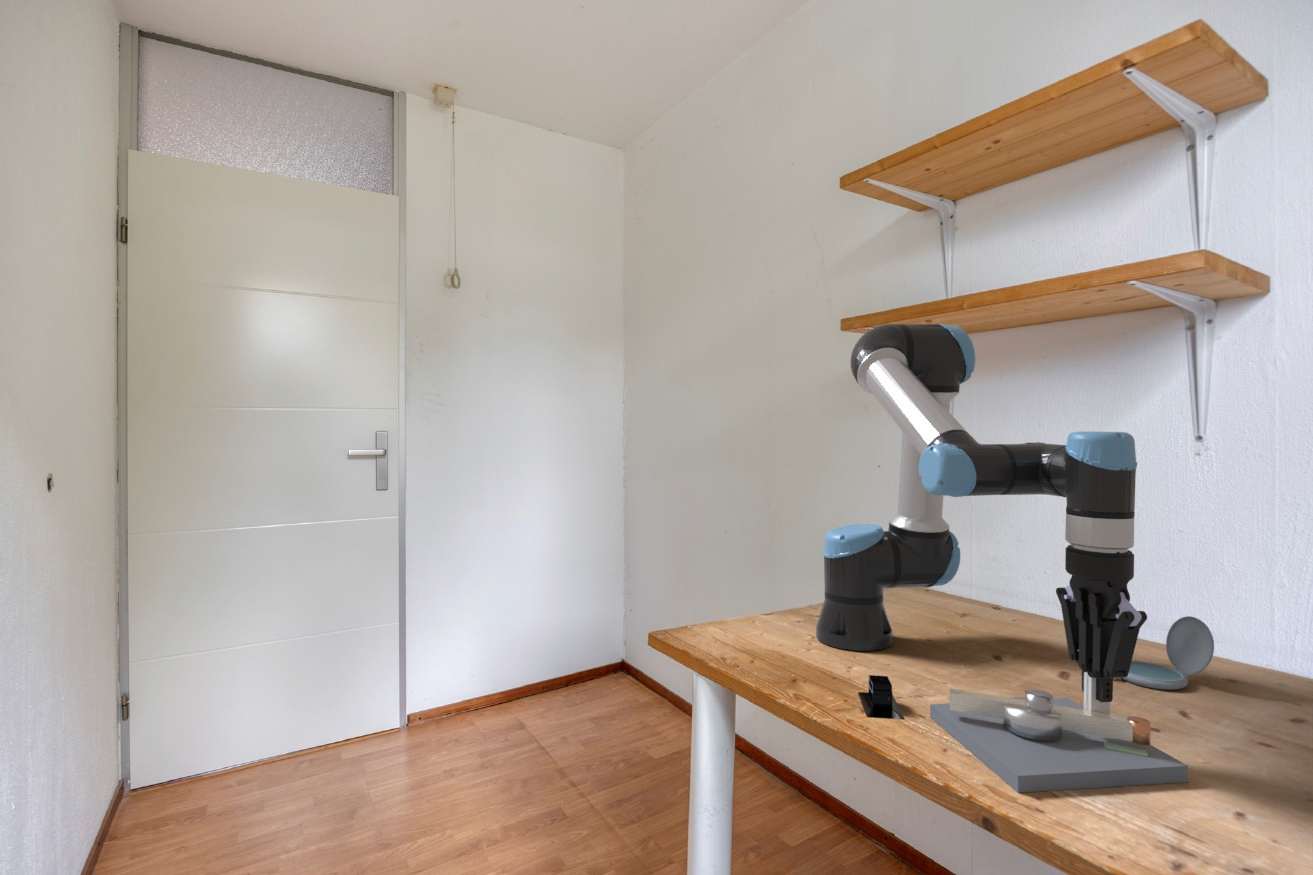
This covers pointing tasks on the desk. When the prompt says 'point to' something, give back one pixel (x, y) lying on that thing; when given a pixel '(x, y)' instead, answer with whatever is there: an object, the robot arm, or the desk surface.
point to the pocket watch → (1177, 657)
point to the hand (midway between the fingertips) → (1096, 721)
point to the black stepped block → (880, 699)
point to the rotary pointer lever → (1049, 717)
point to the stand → (1058, 755)
